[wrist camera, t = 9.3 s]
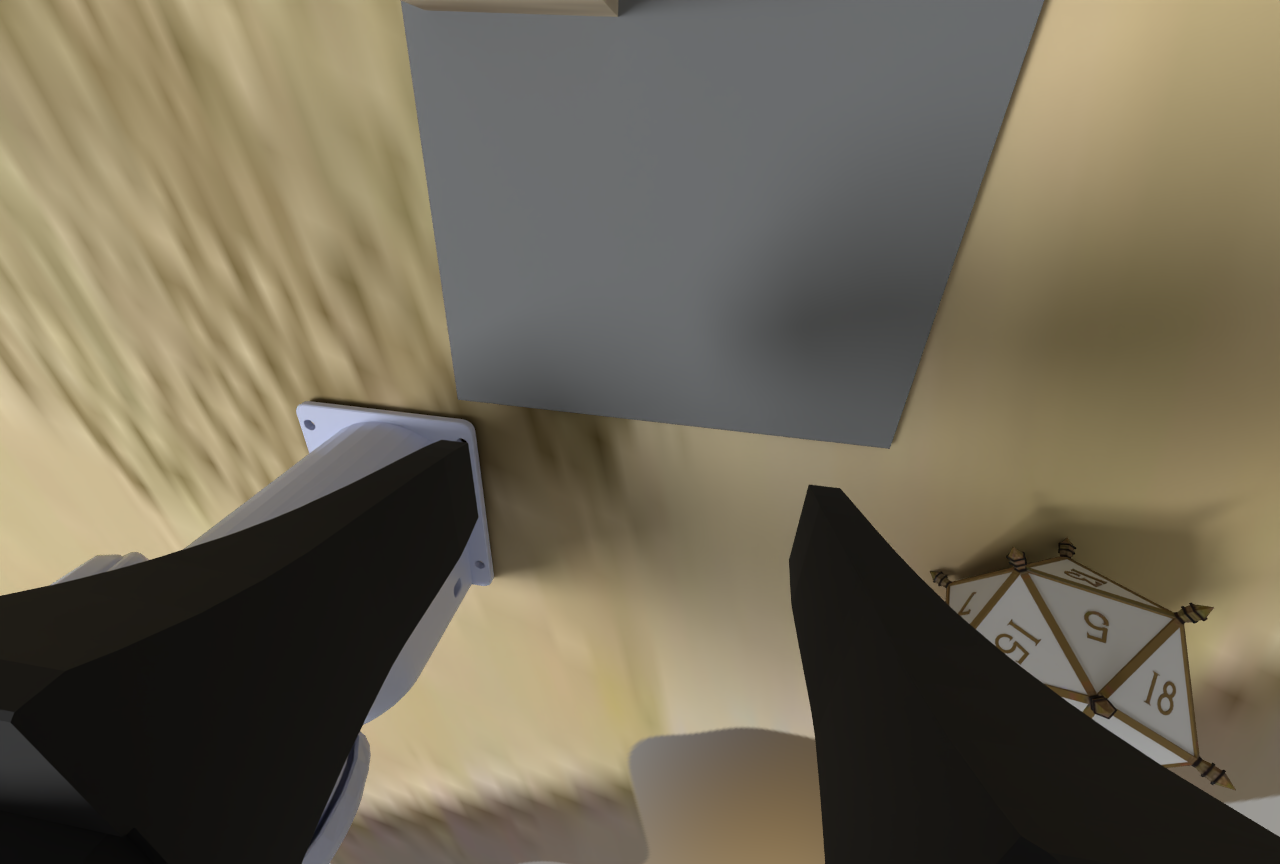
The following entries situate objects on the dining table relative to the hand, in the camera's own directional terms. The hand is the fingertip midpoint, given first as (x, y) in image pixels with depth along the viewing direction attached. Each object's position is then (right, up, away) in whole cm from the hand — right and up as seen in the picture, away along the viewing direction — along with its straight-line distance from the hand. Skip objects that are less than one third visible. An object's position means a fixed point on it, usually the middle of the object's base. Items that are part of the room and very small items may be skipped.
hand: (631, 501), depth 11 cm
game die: (+16, -5, +11) cm, 20 cm away
